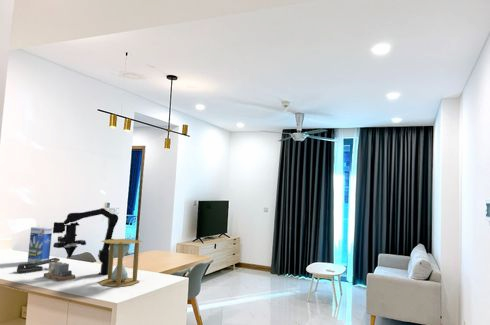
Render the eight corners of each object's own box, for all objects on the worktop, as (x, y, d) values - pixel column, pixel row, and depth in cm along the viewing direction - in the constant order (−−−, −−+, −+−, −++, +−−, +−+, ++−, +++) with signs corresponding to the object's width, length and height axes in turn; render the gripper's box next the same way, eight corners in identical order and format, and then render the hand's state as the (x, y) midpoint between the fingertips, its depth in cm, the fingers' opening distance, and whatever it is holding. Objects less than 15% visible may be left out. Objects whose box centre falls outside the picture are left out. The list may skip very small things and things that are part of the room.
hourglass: (146, 281, 217) (149, 240, 219) (116, 289, 198) (120, 244, 200) (120, 276, 229) (123, 237, 231) (90, 282, 210) (93, 240, 212)
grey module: (68, 274, 220) (68, 263, 221) (58, 276, 215) (59, 265, 216) (64, 273, 222) (64, 262, 223) (54, 274, 218) (55, 264, 218)
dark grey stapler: (61, 259, 245) (20, 263, 226) (60, 268, 244) (19, 274, 225) (55, 257, 250) (15, 261, 231) (54, 266, 250) (14, 271, 231)
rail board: (75, 278, 219) (76, 262, 220) (59, 281, 210) (60, 264, 211) (59, 274, 229) (60, 258, 230) (43, 276, 221) (45, 260, 221)
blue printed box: (27, 262, 260) (30, 227, 263) (35, 260, 267) (39, 226, 270) (41, 264, 256) (44, 228, 259) (49, 262, 264) (52, 227, 266)
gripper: (77, 230, 238) (75, 254, 237) (49, 232, 223) (47, 258, 221) (87, 231, 232) (85, 256, 231) (59, 234, 216) (57, 260, 215)
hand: (69, 257), depth 225 cm, fingers closed
